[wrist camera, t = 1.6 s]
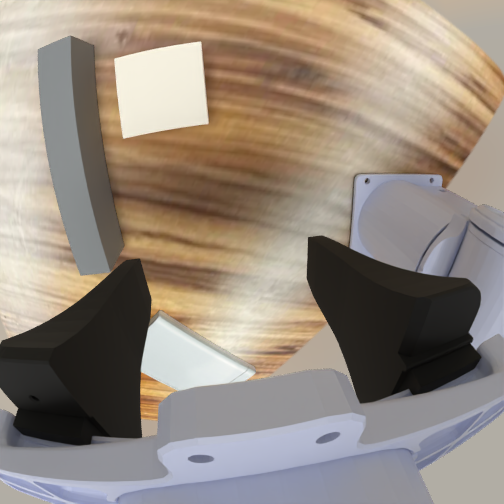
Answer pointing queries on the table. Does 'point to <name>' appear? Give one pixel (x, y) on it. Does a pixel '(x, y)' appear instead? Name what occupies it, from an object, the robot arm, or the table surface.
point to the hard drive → (188, 357)
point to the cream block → (161, 89)
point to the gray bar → (78, 153)
